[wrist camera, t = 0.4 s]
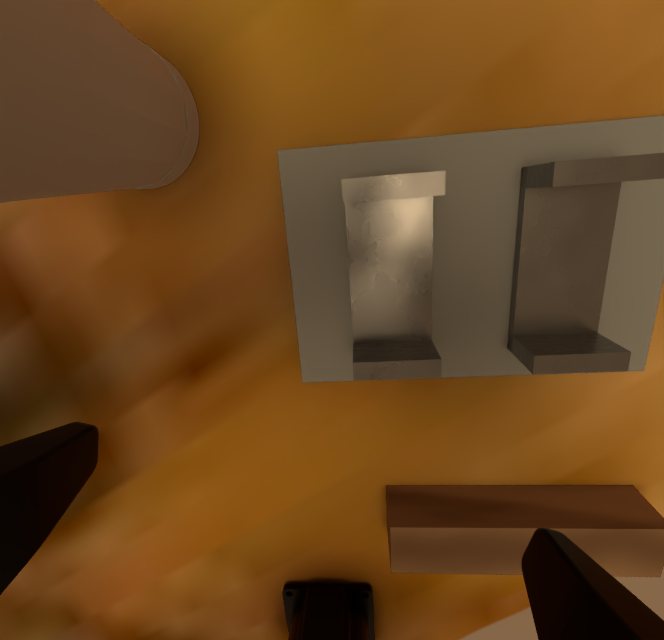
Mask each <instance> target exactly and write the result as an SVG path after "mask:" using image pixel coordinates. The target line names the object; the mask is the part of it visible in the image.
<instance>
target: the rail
mask: <svg viewBox="0 0 664 640" xmlns="http://www.w3.org/2000/svg"><path fill="white" fill-rule="evenodd" d="M386 500H387V531H388V543H389V554H390V566H391V573H437V574H496V575H523V573H522V566H521V561H522V556H523V554H524V552H525V550H526V548H527V546H528V544H529V542H530V540H531V538H532V536H533V534H534V532H535V530H536V529H538V528H541V527H543V528H548V529H552V530H556V531H559V532H561V533H563V534H564V535H565V536H567V537H568V538H569V539H570V540H571V541H572V542H573V543H575V544H576V545H577V546H578V547H579V548H580V549H582V550H583V551H584V552H585V553H586V554H587V555H588V556H590V557H591V558H592V559H593V560H594V561H595V562H597V563H598V564H599V565H600V566H601V567H602V568H604V569H605V570H606V571H607V572H608V573H609V574H610V575H612V576H616V577H617V576H618V577H661V573H662V570H663V567H664V518H663V517H662V516H661V515H660V514H659V513H658V512H657V510H656V509H655V508H654V507H653V506H652V505H651V504H650V503H649V502H648V501H647V500H646V499H645V498H644V497H643V496H642V495H641V494H640V493H639V491H638V490H637V489H636V488H635V487H634V486H633V485H386Z"/></svg>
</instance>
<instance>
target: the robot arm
mask: <svg viewBox="0 0 664 640" xmlns="http://www.w3.org/2000/svg"><path fill="white" fill-rule="evenodd" d="M98 441H99V432H98V428H97V427H96V426H94V425H90V424H86V423H81V422H73V423H70V424H67V425H64V426H61V427H58V428H55V429H51V430H48V431H45V432H42V433H39V434H36V435H33V436H30V437H27V438H24V439H21V440H18V441H15V442H12V443H9V444H6V445H3V446H0V595H1V594H2V592H3V591H4V590H5V589H6V588H7V586H8V585H9V584H10V583H11V582H12V580H13V579H14V578H15V577H16V576H17V575H18V573H19V572H20V571H21V570H22V569H23V567H24V566H25V565H26V564H27V563H28V561H29V560H30V559H31V558H32V557H33V555H34V554H35V553H36V552H37V550H38V549H39V548H40V547H41V545H42V544H43V543H44V541H45V540H46V538H47V537H48V536H49V534H50V533H51V532H52V530H53V529H54V527H55V526H56V524H57V523H58V522H59V520H60V519H61V517H62V516H63V515H64V513H65V512H66V510H67V509H68V507H69V506H70V505H71V503H72V502H73V500H74V499H75V497H76V496H77V495H78V493H79V492H80V490H81V489H82V487H83V486H84V485H85V483H86V482H87V480H88V479H89V477H90V476H91V475H92V473H93V472H94V470H95V468H96V465H97V462H98ZM521 566H522V573H523V577H524V581H525V585H526V589H527V594H528V598H529V602H530V606H531V610H532V614H533V619H534V623H535V627H536V631H537V635H538V639H539V640H664V621H663V620H662V619H661V618H660V617H659V616H658V615H657V614H655V613H654V612H653V611H652V610H651V609H649V608H648V607H647V606H646V605H645V604H644V603H643V602H642V601H640V600H639V599H638V598H637V597H636V596H635V595H634V594H632V593H631V592H630V591H629V590H628V589H627V588H625V587H624V586H623V585H622V584H621V583H620V582H618V581H617V580H616V579H615V578H614V577H613V576H612V575H610V574H609V573H608V572H607V571H606V570H605V569H604V568H602V567H601V566H600V565H599V564H598V563H597V562H595V561H594V560H593V559H592V558H591V557H590V556H588V555H587V554H586V553H585V552H584V551H583V550H582V549H580V548H579V547H578V546H577V545H576V544H575V543H573V542H572V541H571V540H570V539H569V538H568V537H567V536H565V535H564V534H563V533H561V532H559V531H556V530H552V529H548V528H543V527H541V528H538V529H536V530H535V532H534V534H533V536H532V538H531V540H530V542H529V544H528V546H527V548H526V550H525V552H524V554H523V556H522V561H521ZM283 600H284V606H285V612H286V618H287V625H288V631H289V637H288V640H375V631H374V613H373V595H372V588H371V587H370V586H369V585H361V584H290V583H289V584H286V585H285V586H284V588H283Z"/></svg>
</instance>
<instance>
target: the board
mask: <svg viewBox="0 0 664 640" xmlns="http://www.w3.org/2000/svg"><path fill="white" fill-rule="evenodd" d="M277 153H278V162H279V172H280V181H281V190H282V199H283V208H284V217H285V226H286V235H287V244H288V254H289V263H290V272H291V281H292V290H293V299H294V308H295V317H296V326H297V336H298V345H299V354H300V363H301V372H302V381H303V383H305V382H334V381H364V380H354V377H353V330H352V313H351V296H350V280H349V263H348V246H347V230H346V213H345V203H343V199H342V183H341V179H348V178H360V177H373V176H385V175H397V174H409V173H421V172H434V171H446V174H445V195H442V196H433V266H432V341H433V343H434V345H435V347H436V349H437V351H438V353H439V355H440V357H441V359H442V367H441V377H438V378H452V377H481V376H511V375H540V374H532V373H531V372H530V371H529V370H528V369H527V368H526V367H525V366H524V365H523V364H522V363H521V362H520V361H519V360H518V359H517V358H516V357H515V356H514V355H513V354H512V353H511V352H510V351H509V350H508V349H507V343H508V331H509V318H510V306H511V293H512V281H513V269H514V256H515V244H516V231H517V219H518V206H519V194H520V181H521V169H522V167H527V166H533V165H538V164H544V163H550V162H556V161H568V160H580V159H592V158H604V157H617V156H629V155H641V154H653V153H664V116H653V117H641V118H630V119H619V120H608V121H597V122H586V123H575V124H564V125H553V126H542V127H531V128H519V129H508V130H497V131H486V132H475V133H464V134H453V135H442V136H431V137H420V138H409V139H397V140H386V141H375V142H364V143H353V144H342V145H331V146H320V147H309V148H298V149H287V150H277ZM663 279H664V179H652V180H639V181H626V182H622V183H621V189H620V195H619V201H618V208H617V214H616V220H615V226H614V233H613V239H612V245H611V251H610V258H609V264H608V270H607V276H606V282H605V289H604V295H603V301H602V307H601V314H600V320H599V326H598V332H597V333H599V334H601V335H602V336H604V337H606V338H608V339H609V340H611V341H613V342H615V343H617V344H618V345H620V346H622V347H624V348H625V349H627V350H629V351H631V352H632V353H631V358H630V363H629V368H628V371H614V372H629V371H644V369H645V365H646V360H647V355H648V350H649V345H650V341H651V336H652V331H653V326H654V322H655V317H656V312H657V307H658V302H659V298H660V293H661V288H662V283H663ZM584 373H599V372H584ZM555 374H570V373H555ZM408 379H423V378H408ZM379 380H393V379H379Z"/></svg>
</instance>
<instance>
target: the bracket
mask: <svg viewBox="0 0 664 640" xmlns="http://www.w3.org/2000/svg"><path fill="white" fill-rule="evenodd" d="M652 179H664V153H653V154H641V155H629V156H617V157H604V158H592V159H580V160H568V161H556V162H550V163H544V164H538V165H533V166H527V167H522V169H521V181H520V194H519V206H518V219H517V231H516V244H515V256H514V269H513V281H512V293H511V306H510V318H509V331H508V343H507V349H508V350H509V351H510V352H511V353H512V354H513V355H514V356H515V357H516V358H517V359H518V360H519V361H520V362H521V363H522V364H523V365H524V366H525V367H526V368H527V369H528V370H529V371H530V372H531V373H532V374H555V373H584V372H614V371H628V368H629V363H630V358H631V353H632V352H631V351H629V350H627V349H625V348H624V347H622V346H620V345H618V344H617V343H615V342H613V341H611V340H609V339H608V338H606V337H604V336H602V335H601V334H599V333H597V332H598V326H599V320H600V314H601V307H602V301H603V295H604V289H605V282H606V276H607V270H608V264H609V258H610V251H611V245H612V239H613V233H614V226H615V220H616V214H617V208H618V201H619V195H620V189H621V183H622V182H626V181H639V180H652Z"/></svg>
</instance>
